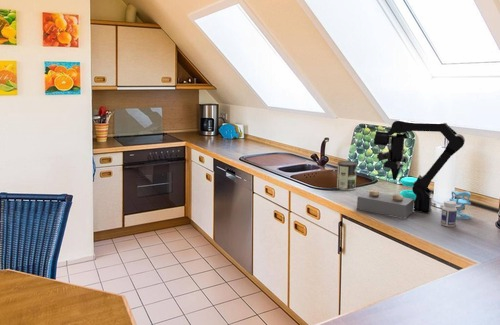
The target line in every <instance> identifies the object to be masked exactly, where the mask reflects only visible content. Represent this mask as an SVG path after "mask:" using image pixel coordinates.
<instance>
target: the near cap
mask: <svg viewBox="0 0 500 325" xmlns="http://www.w3.org/2000/svg"><path fill="white" fill-rule="evenodd" d="M392 195H393V200H395V201H402V200H403V196H402V195H400V194H398V193H397V194H392Z"/></svg>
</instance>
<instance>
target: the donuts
mask: <svg viewBox="0 0 500 325" xmlns="http://www.w3.org/2000/svg"><path fill="white" fill-rule="evenodd" d="M417 179H418V177H411V176H406V177H403V178H401V179H400V184H402V186H405V187H407V188H413V186H414V185H413V183H414V182H415V181H416V180H417ZM399 195H402V196H403V197H405V198H410V199H414V200H415V199H416V194H414V192H413V190H412V189H405V190H401V191H400V192H399Z"/></svg>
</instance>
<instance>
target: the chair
mask: <svg viewBox="0 0 500 325" xmlns="http://www.w3.org/2000/svg"><path fill="white" fill-rule="evenodd" d="M471 196H472V194H471V192H470V191H468V190H465V191H457V190H453V191H451V198H449V201H454V202H456V206H457V205H460V206H459V208H458V209H457V215H460V216H456V220H472V216H470V215H468V214H466V213H463V212H461V211H462V209H463V208H464V207H465V206H466V205H467V206H471V205H472V202H470V198H471ZM455 197H456V198H455ZM460 197H462V198H460ZM465 197H467V199H465Z"/></svg>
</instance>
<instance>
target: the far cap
mask: <svg viewBox="0 0 500 325" xmlns="http://www.w3.org/2000/svg"><path fill="white" fill-rule="evenodd" d="M368 191H369V195H370V196H373V197H378V196H379V193H380V191H379V190H376V189H375V190H374V189H373V190H372V189H371V190H368Z"/></svg>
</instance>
